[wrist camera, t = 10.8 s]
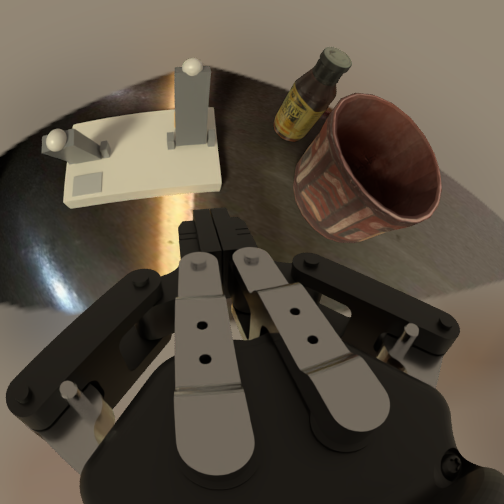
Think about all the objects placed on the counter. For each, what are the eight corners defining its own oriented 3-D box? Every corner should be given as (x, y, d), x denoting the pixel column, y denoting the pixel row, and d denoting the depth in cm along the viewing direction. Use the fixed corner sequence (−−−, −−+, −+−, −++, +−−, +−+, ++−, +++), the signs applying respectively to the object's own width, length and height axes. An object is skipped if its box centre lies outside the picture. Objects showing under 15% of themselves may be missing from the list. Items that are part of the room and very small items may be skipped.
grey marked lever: (101, 161, 36) (68, 145, 23) (76, 165, 35) (35, 153, 22) (101, 144, 36) (69, 122, 23) (75, 149, 35) (36, 131, 22)
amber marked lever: (206, 145, 39) (212, 61, 27) (176, 147, 38) (174, 62, 26) (204, 135, 40) (210, 54, 28) (176, 136, 39) (175, 56, 27)
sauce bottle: (268, 116, 47) (306, 35, 27) (299, 115, 48) (346, 42, 29) (277, 146, 46) (324, 67, 27) (309, 144, 47) (366, 74, 28)
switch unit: (219, 191, 42) (223, 176, 37) (70, 208, 37) (57, 197, 32) (211, 117, 44) (215, 98, 39) (78, 134, 39) (68, 117, 34)
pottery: (381, 185, 49) (444, 143, 32) (358, 268, 45) (435, 248, 28) (302, 137, 47) (347, 72, 30) (264, 219, 43) (309, 166, 26)
